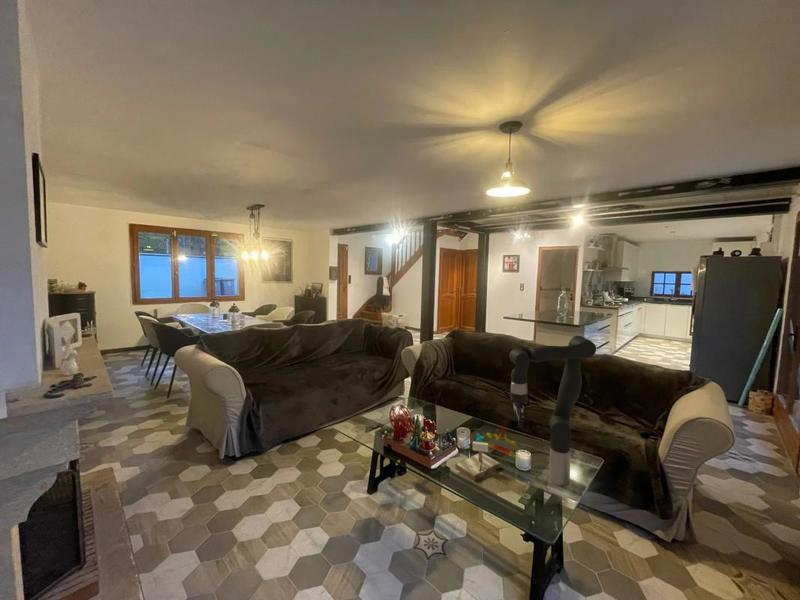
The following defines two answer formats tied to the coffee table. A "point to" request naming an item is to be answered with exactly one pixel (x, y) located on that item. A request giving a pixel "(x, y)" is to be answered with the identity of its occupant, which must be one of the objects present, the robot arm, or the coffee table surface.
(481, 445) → the wooden mallet
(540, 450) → the coffee table surface
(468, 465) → the desk tray with supplies
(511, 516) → the coffee table surface
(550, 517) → the coffee table surface
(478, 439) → the chart
